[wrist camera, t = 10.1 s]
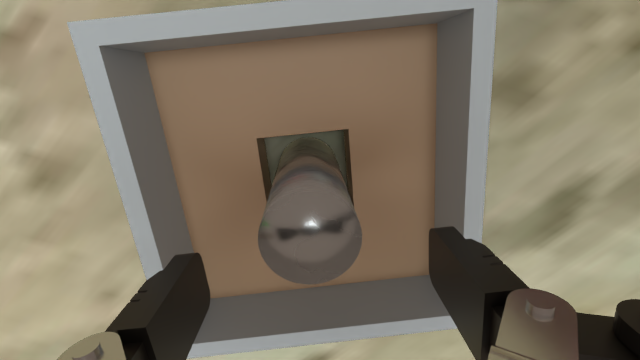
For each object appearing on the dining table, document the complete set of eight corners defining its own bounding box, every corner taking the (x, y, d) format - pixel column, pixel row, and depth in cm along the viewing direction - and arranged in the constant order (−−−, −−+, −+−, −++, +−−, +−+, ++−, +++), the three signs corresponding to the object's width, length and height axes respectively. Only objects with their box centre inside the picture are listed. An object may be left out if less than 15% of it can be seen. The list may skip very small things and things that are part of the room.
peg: (333, 134, 22) (358, 185, 12) (338, 188, 23) (364, 278, 13) (276, 140, 22) (249, 197, 12) (283, 194, 23) (265, 289, 13)
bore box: (434, 11, 20) (499, -21, 13) (431, 261, 26) (475, 326, 19) (146, 40, 20) (66, 22, 13) (206, 286, 25) (171, 360, 19)
